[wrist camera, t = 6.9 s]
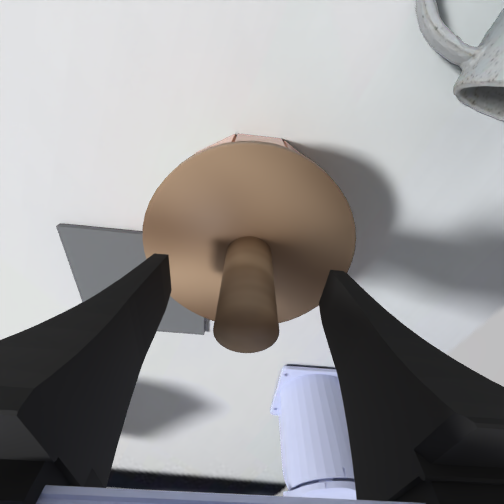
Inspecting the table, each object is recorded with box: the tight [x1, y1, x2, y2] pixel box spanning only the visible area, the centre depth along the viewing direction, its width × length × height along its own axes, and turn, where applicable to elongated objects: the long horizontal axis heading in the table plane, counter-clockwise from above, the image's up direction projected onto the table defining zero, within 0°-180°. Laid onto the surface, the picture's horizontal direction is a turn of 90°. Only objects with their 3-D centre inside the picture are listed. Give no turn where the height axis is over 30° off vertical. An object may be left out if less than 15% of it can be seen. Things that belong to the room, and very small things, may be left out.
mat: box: [56, 224, 205, 335], centre depth 20 cm, size 10×10×1 cm
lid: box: [142, 141, 356, 353], centre depth 12 cm, size 11×11×6 cm
